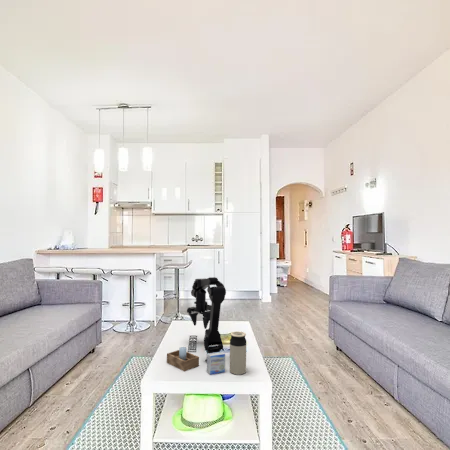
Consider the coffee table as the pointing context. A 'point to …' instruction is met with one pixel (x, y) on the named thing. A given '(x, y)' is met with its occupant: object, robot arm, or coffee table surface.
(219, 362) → the medicine box
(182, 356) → the peg
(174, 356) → the caddy
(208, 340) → the robot arm
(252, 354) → the coffee table surface
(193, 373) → the coffee table surface
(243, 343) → the travel mug
